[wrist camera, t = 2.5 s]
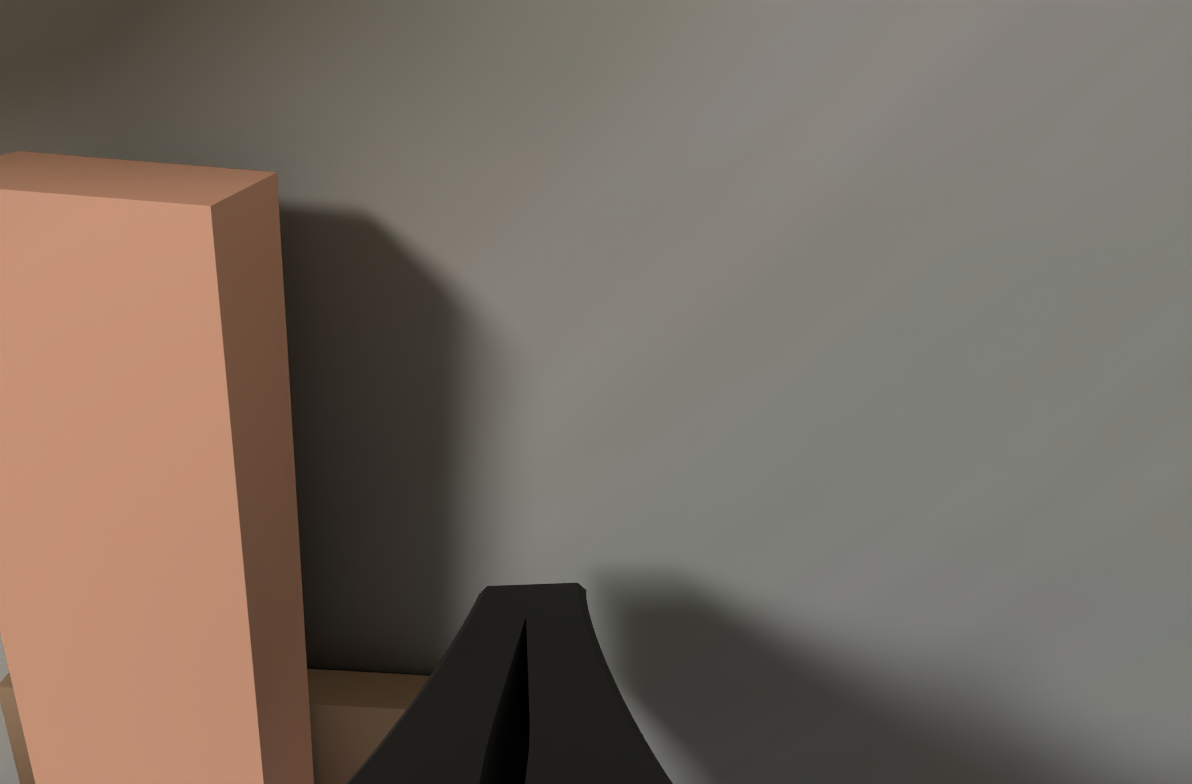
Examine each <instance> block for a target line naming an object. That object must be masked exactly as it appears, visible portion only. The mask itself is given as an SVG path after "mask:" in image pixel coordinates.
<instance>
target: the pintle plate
mask: <svg viewBox="0 0 1192 784" xmlns="http://www.w3.org/2000/svg"><path fill="white" fill-rule="evenodd" d="M307 677H308V693H309V709H310V726H311V742H312V759H313V775H314V784H346V783H347V782H348V780H349V779H350V778H351V777H352V776H353V775H354V774H355V773H356V771H357V770H358V769H359V768H360V767H361V766H362V765H363V763H364V762H365V761H366V760H367V759H368V757H369V756H370V755H371V754H372V753H373V751H374V750H375V749H376V748H377V747H378V745H379V744H380V743H381V742H382V740H383V739H384V738H385V736H386V735H387V734H388V733H389V731H390V730H391V729H392V727H393V726H394V725H395V723H396V722H397V721H398V720H399V718H400V717H401V716H402V714H403V713H404V712H405V710H406V709H407V708H408V707H409V705H410V704H411V703H412V701H413V700H414V699H415V697H416V696H417V694H418V693H419V692H420V690H421V689H422V687H423V686H424V684H425V683H426V681H427V680H428V678H429V677H430V676H424V675H407V674H389V673H372V672H354V671H337V670H319V669H307ZM0 702H1V706H2V711H3V715H4V719H5V723H6V727H7V731H8V735H9V739H10V743H11V748H12V752H13V756H14V760H15V764H16V768H17V772H18V776H19V781H20V784H35V780H34V775H33V771H32V767H31V763H30V758H29V754H28V750H27V745H26V741H25V737H24V733H23V728H22V724H21V720H20V716H19V711H18V707H17V703H16V698H15V694H14V690H13V686H12V681H11V677H10V673H8V674H7V676H6V677H5V678H4V679H3V680H2V681H1V682H0Z"/></svg>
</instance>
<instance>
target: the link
mask: <svg viewBox="0 0 1192 784" xmlns="http://www.w3.org/2000/svg"><path fill="white" fill-rule="evenodd" d="M0 634H1V638H2V643H3V647H4V651H5V656H6V660H7V664H8V668H9V673H10V677H11V681H12V686H13V690H14V694H15V698H16V703H17V707H18V711H19V716H20V720H21V724H22V728H23V733H24V737H25V741H26V745H27V750H28V754H29V758H30V763H31V767H32V771H33V775H34V780H35V784H314V775H313V759H312V742H311V726H310V709H309V693H308V677H307V660H306V644H305V627H304V611H303V595H302V578H301V562H300V545H299V529H298V513H297V496H296V480H295V463H294V447H293V430H292V414H291V398H290V381H289V365H288V348H287V332H286V316H285V299H284V283H283V266H282V250H281V233H280V217H279V201H278V184H277V172H267V171H255V170H243V169H231V168H218V167H206V166H194V165H182V164H170V163H158V162H146V161H133V160H121V159H109V158H97V157H85V156H73V155H60V154H48V153H36V152H24V151H17V152H12V153H8V154H4V155H0Z"/></svg>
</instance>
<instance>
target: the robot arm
mask: <svg viewBox="0 0 1192 784" xmlns="http://www.w3.org/2000/svg"><path fill="white" fill-rule="evenodd" d="M346 784H673V783H672V782H671V780H670V779H669V777H668V776H667V774H666V773H665V771H664V770H663V768H662V767H661V765H660V764H659V762H658V760H657V759H656V757H655V756H654V754H653V752H652V751H651V749H650V747H649V746H648V744H647V742H646V740H645V739H644V737H643V735H642V733H641V732H640V730H639V728H638V726H637V724H636V723H635V721H634V719H633V717H632V715H631V713H630V712H629V710H628V708H627V706H626V704H625V702H624V700H623V698H622V696H621V694H620V692H619V689H618V687H617V685H616V683H615V681H614V678H613V676H612V674H611V672H610V670H609V668H608V665H607V663H606V661H605V658H604V656H603V653H602V651H601V648H600V646H599V643H598V640H597V637H596V634H595V631H594V629H593V625H592V622H591V618H590V614H589V610H588V605H587V600H586V590H585V589H584V588H583V587H582V586H581V585H579V584H578V583H559V584H532V585H506V586H487V587H486V588H485V589H484V590H483V591H482V592H481V593H480V594H479V596H478V598H477V600H476V602H475V604H474V606H473V607H472V609H471V611H470V613H469V615H468V617H467V618H466V620H465V622H464V624H463V625H462V627H461V629H460V630H459V632H458V634H457V635H456V637H455V639H454V640H453V642H452V643H451V645H450V647H449V648H448V650H447V651H446V653H445V655H444V656H443V658H442V659H441V661H440V662H439V663H438V665H437V666H436V668H435V669H434V671H433V672H432V674H431V675H430V677H429V678H428V680H427V681H426V683H425V684H424V686H423V687H422V689H421V690H420V692H419V693H418V694H417V696H416V697H415V699H414V700H413V701H412V703H411V704H410V705H409V707H408V708H407V709H406V710H405V712H404V713H403V714H402V716H401V717H400V718H399V720H398V721H397V722H396V723H395V725H394V726H393V727H392V729H391V730H390V731H389V733H388V734H387V735H386V736H385V738H384V739H383V740H382V742H381V743H380V744H379V745H378V747H377V748H376V749H375V750H374V751H373V753H372V754H371V755H370V756H369V757H368V759H367V760H366V761H365V762H364V763H363V765H362V766H361V767H360V768H359V769H358V770H357V771H356V773H355V774H354V775H353V776H352V777H351V778H350V779H349V780H348V782H347V783H346Z"/></svg>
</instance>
